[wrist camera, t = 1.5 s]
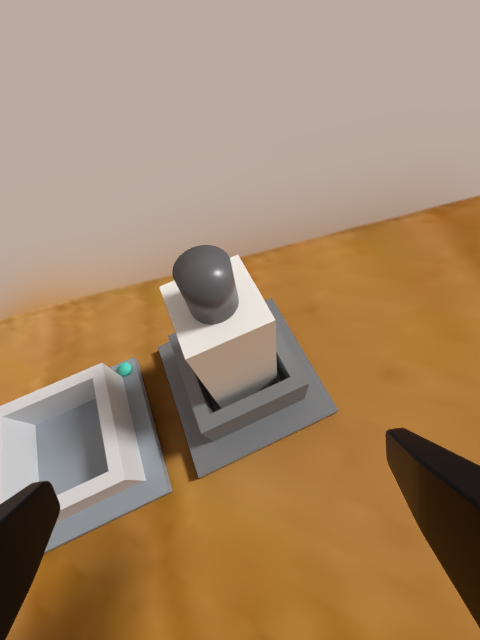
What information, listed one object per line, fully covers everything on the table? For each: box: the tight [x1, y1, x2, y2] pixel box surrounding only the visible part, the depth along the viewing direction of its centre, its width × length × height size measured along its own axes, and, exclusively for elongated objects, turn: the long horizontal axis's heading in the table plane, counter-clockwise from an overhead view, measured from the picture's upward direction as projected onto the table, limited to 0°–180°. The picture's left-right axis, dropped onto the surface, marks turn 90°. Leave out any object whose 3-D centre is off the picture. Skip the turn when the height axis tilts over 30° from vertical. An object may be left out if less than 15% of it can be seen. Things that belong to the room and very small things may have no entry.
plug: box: [160, 245, 277, 409], centre depth 16 cm, size 4×4×12 cm
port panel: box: [0, 357, 173, 554], centre depth 20 cm, size 10×10×4 cm
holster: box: [158, 298, 338, 478], centre depth 21 cm, size 10×10×4 cm
